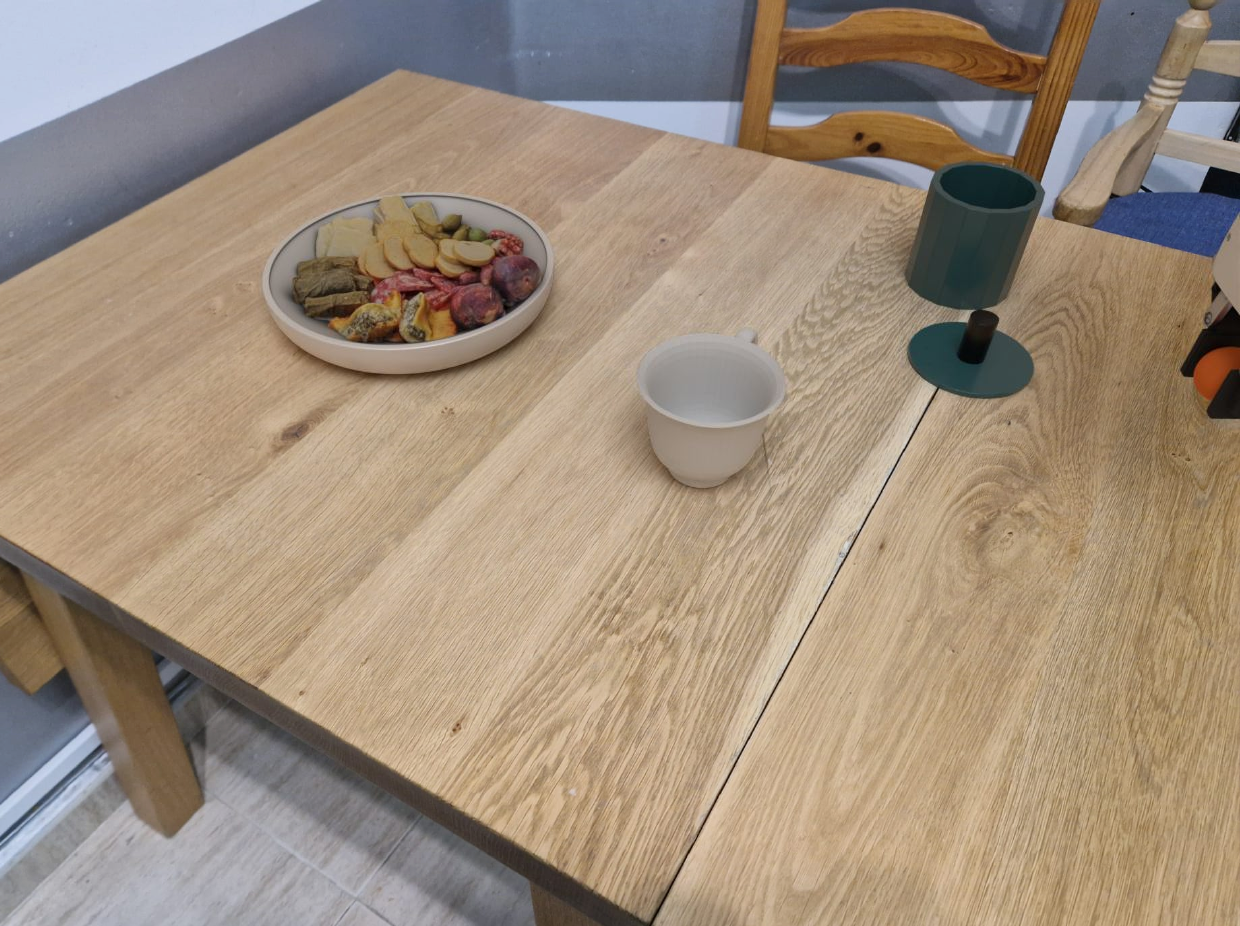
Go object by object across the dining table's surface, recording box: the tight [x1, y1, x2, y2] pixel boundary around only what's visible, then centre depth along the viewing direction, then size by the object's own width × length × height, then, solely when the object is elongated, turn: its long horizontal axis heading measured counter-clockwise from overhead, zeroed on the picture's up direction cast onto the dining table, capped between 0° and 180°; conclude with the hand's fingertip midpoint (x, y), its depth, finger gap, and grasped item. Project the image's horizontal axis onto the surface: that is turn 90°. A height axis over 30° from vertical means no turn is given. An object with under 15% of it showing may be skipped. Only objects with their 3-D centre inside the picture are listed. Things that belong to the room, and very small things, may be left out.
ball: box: [1192, 347, 1240, 402], centre depth 67 cm, size 4×4×4 cm
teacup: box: [635, 326, 787, 489], centre depth 80 cm, size 12×15×10 cm
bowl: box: [261, 191, 555, 375], centre depth 98 cm, size 30×30×8 cm
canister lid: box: [907, 309, 1035, 399], centre depth 90 cm, size 12×12×6 cm
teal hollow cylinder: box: [904, 160, 1046, 311], centre depth 97 cm, size 11×11×12 cm
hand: (1216, 393), depth 68 cm, fingers closed on ball, 3 cm apart
